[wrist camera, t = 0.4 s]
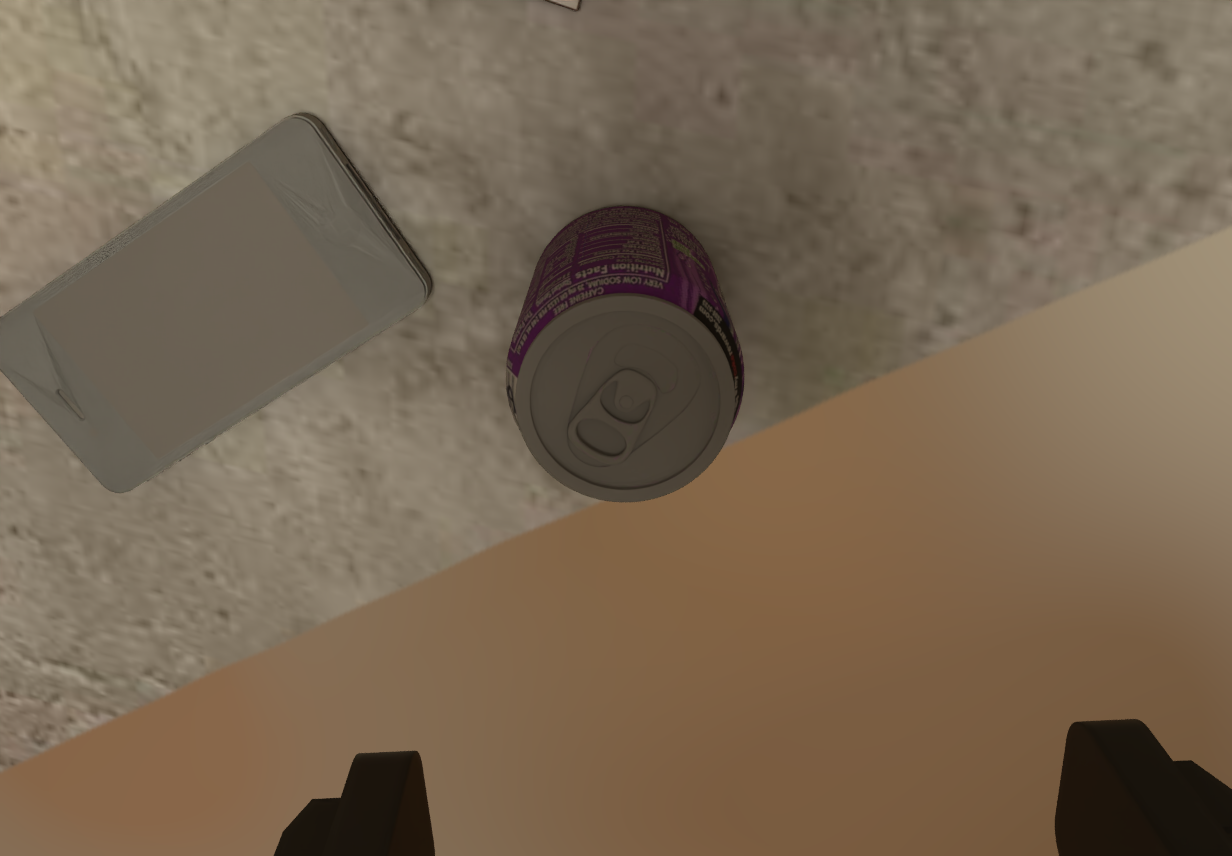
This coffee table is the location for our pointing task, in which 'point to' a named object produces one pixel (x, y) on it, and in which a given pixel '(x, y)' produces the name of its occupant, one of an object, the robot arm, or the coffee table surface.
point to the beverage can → (624, 357)
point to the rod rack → (567, 3)
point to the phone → (211, 306)
